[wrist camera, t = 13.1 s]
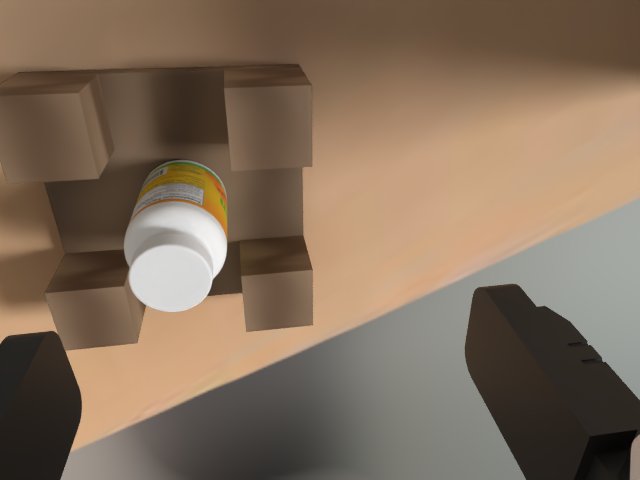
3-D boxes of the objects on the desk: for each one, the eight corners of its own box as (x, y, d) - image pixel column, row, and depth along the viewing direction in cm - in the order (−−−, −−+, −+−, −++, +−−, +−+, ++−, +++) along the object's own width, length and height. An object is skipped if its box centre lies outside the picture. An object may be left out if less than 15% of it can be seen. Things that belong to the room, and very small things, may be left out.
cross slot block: (298, 64, 31) (311, 85, 26) (302, 279, 39) (312, 325, 34) (19, 72, 28) (-22, 96, 24) (84, 299, 36) (63, 350, 32)
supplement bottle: (223, 235, 35) (222, 326, 26) (141, 229, 33) (113, 322, 25) (230, 162, 32) (232, 236, 24) (142, 152, 31) (111, 227, 23)
